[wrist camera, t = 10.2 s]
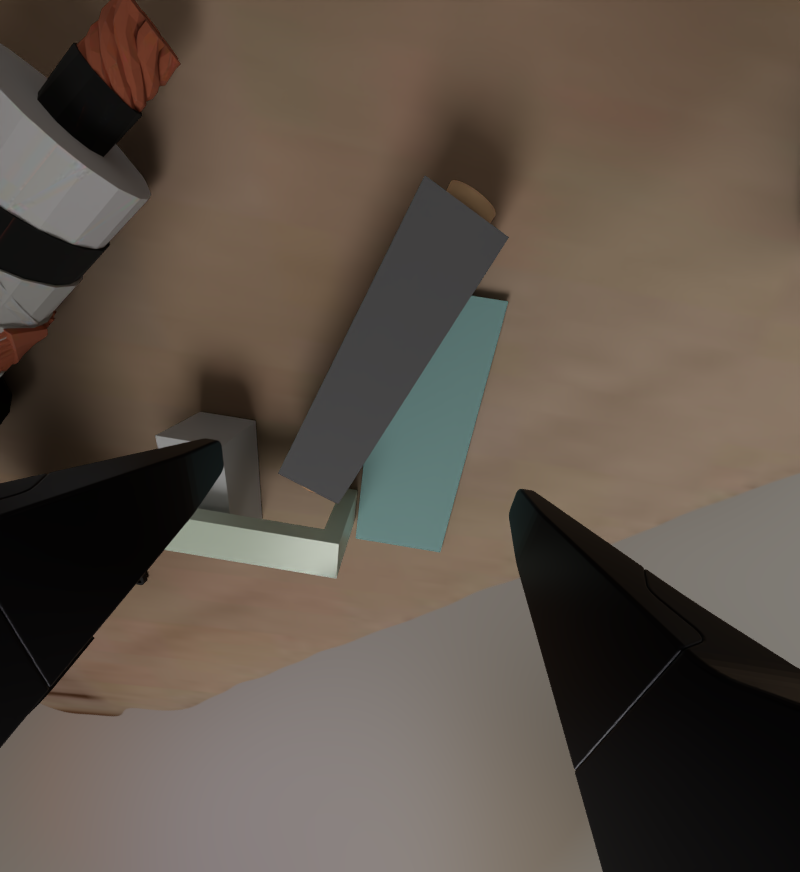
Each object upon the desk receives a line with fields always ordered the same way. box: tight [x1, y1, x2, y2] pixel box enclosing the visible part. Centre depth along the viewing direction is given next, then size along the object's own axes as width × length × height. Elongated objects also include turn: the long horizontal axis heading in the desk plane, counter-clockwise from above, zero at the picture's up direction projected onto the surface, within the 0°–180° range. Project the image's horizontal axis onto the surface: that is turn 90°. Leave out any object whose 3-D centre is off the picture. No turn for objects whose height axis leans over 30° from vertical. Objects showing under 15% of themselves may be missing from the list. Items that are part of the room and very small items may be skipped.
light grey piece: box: [165, 489, 358, 578], centre depth 22 cm, size 3×13×6 cm, turn 82°
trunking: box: [155, 412, 262, 519], centre depth 22 cm, size 9×4×4 cm, turn 172°
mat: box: [356, 296, 508, 552], centre depth 21 cm, size 19×7×1 cm, turn 172°
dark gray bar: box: [278, 176, 509, 504], centre depth 17 cm, size 18×4×4 cm, turn 149°
